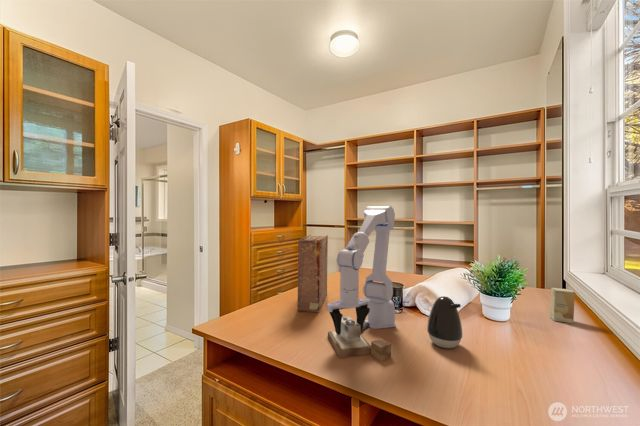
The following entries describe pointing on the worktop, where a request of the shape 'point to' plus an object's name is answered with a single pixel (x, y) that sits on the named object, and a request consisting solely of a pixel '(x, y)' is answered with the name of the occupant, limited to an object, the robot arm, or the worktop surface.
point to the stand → (349, 346)
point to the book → (312, 272)
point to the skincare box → (562, 305)
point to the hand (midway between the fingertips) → (348, 331)
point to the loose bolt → (365, 325)
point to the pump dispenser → (445, 323)
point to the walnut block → (381, 349)
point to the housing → (350, 330)
